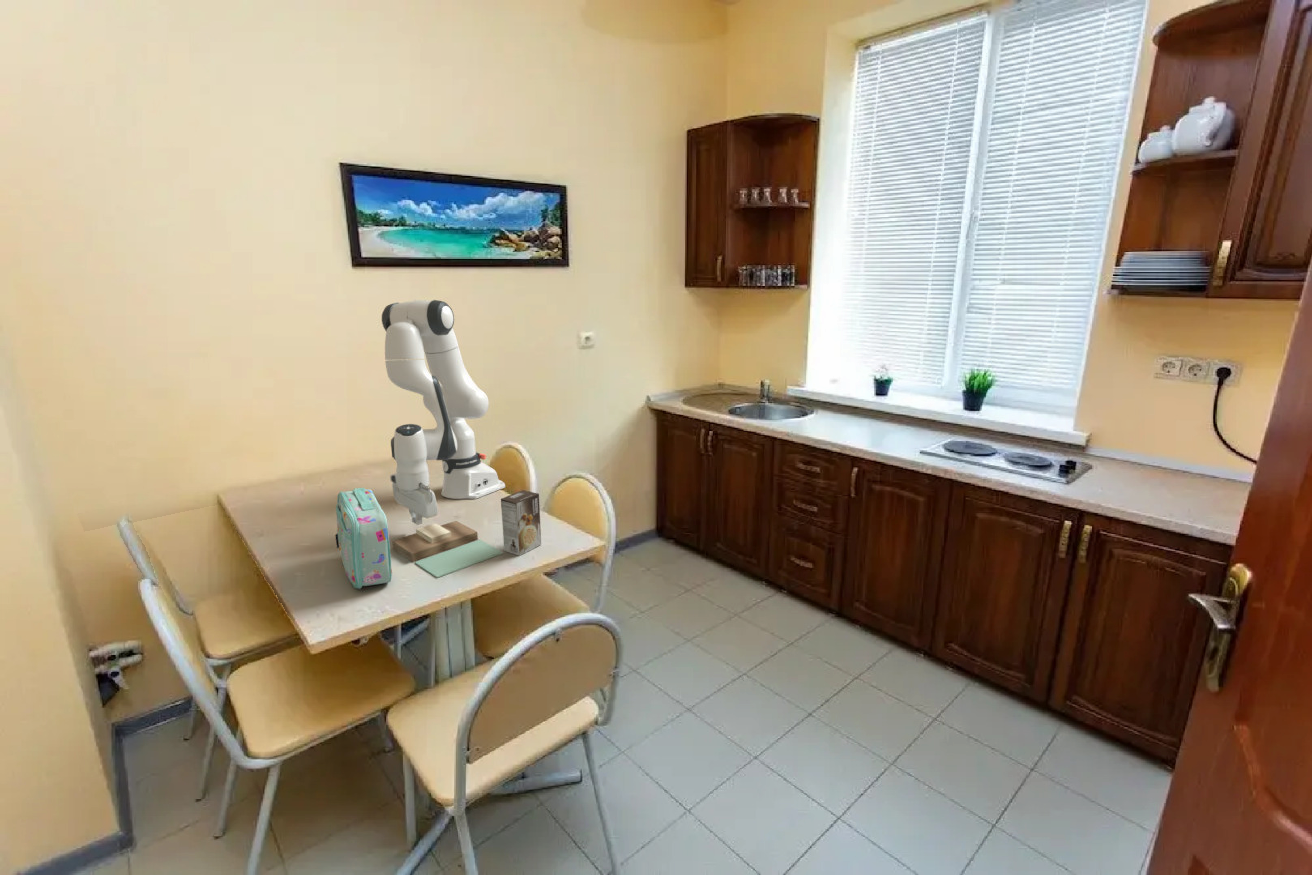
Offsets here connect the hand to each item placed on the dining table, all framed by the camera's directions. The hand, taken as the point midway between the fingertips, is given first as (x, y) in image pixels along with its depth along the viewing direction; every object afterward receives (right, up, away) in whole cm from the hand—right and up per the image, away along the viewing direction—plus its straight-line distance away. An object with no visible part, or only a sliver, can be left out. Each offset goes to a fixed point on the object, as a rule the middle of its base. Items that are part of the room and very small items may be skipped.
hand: (417, 523), depth 182 cm
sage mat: (+18, -8, -14) cm, 24 cm away
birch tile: (+7, -2, -6) cm, 10 cm away
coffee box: (+33, -6, -7) cm, 35 cm away
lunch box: (-5, -10, -22) cm, 25 cm away
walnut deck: (+8, -5, -6) cm, 11 cm away
